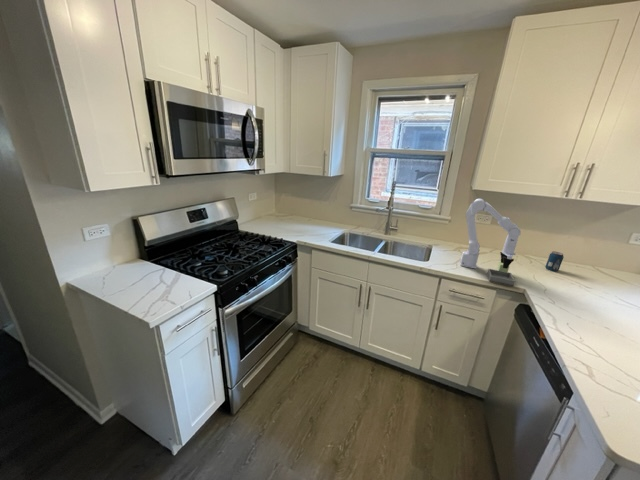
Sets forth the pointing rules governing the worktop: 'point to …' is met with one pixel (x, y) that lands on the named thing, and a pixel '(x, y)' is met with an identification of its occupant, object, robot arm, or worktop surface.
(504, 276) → the bin
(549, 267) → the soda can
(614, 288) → the worktop surface
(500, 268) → the light green block
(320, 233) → the worktop surface
